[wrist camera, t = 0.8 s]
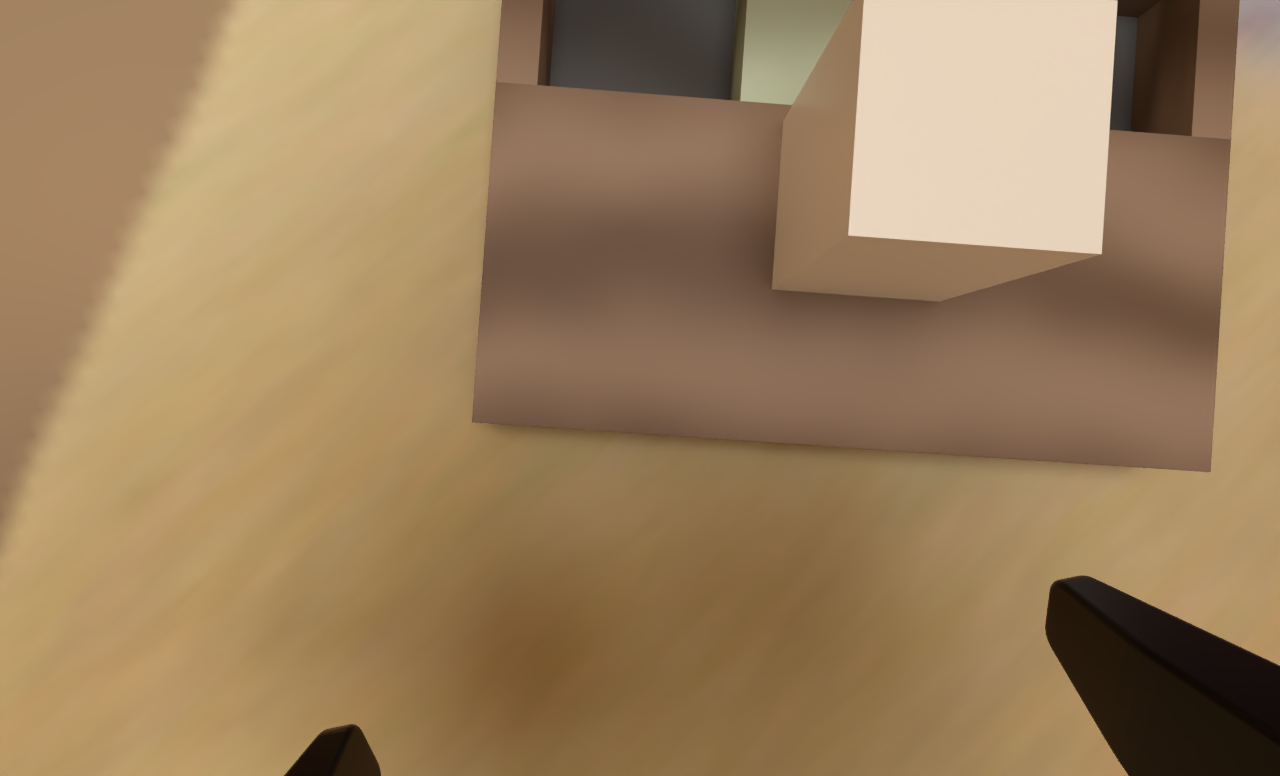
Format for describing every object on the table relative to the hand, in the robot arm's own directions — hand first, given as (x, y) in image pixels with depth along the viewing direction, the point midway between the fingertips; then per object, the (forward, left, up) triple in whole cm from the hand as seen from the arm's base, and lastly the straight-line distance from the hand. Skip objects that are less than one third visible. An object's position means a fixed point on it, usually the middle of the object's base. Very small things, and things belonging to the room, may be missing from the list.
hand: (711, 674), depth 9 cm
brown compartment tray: (+5, -11, -15) cm, 19 cm away
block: (+4, -10, -11) cm, 16 cm away
